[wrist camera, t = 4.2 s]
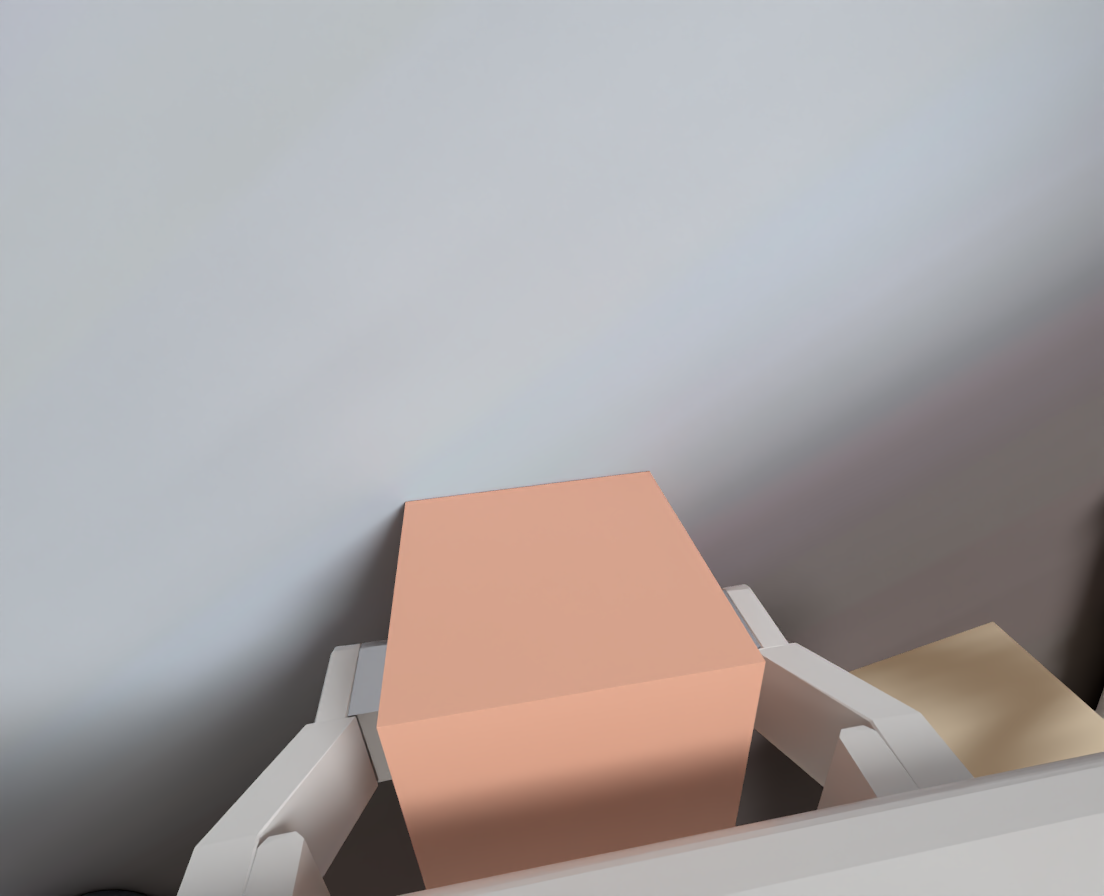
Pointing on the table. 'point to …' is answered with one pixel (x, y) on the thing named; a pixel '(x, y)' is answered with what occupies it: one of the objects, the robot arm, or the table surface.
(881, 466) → the table surface
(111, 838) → the table surface
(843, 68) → the table surface
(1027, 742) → the maple block
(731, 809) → the terracotta block
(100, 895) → the phone case
